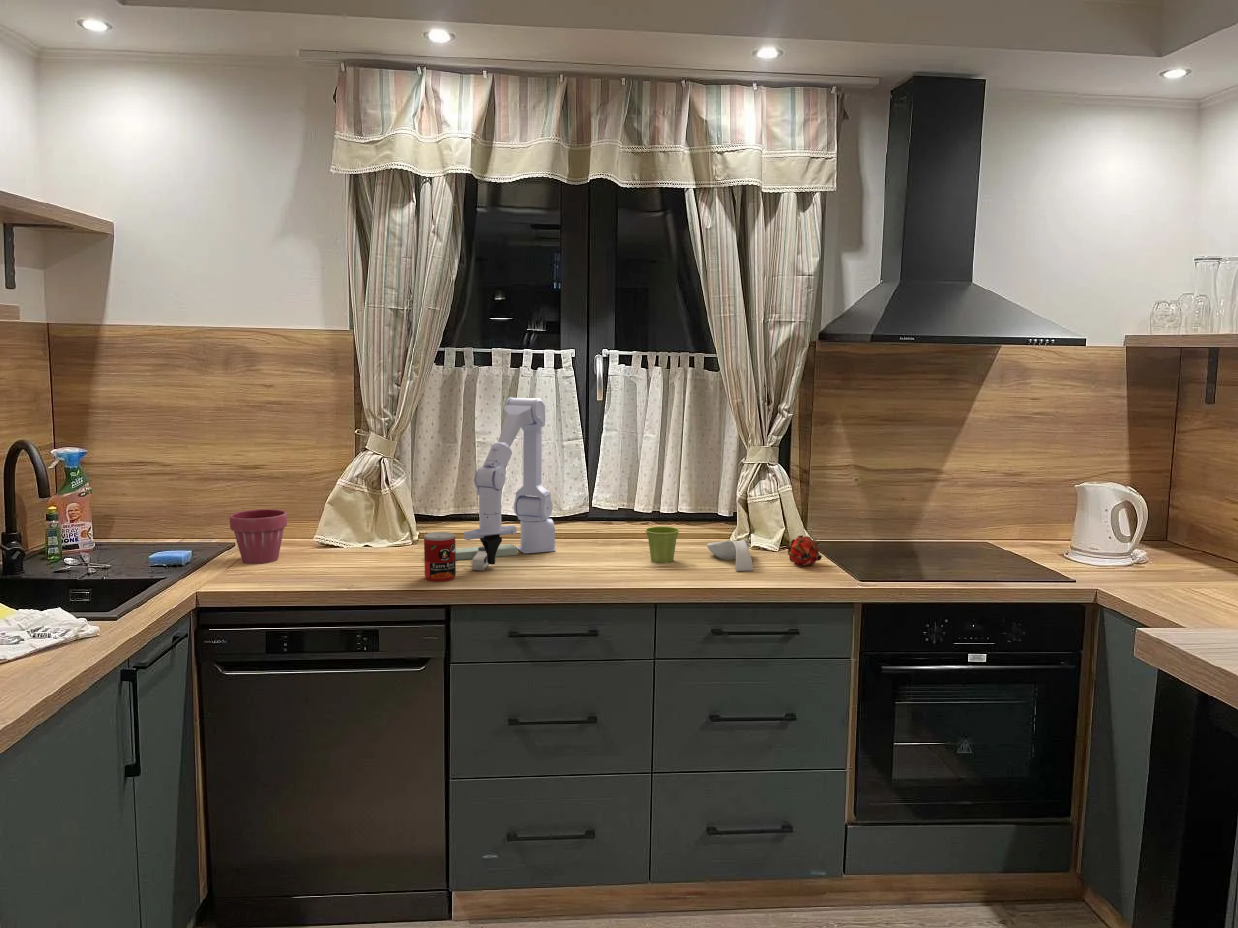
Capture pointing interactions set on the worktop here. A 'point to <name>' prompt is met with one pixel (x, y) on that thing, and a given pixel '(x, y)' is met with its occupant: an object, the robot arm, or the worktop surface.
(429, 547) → the canned food
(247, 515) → the plant pot
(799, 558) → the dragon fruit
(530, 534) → the robot arm
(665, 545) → the plant pot
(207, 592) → the worktop surface
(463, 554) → the pale green flat bar
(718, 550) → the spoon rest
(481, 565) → the latch bar
